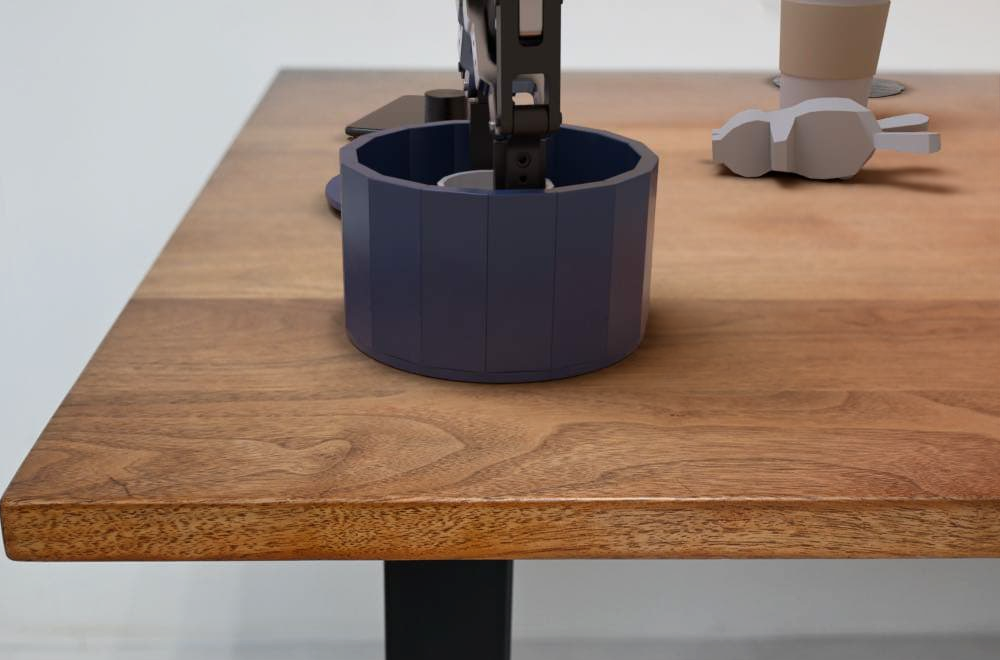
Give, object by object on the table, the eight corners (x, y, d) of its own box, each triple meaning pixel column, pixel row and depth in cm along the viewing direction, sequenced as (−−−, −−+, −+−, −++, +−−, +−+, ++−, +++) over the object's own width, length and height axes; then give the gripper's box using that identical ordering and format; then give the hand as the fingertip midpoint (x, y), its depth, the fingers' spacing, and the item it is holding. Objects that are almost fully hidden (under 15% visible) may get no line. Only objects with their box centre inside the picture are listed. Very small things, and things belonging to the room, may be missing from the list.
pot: (607, 270, 69) (615, 117, 66) (680, 376, 56) (696, 189, 52) (340, 279, 67) (335, 122, 64) (350, 390, 54) (345, 198, 51)
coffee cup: (897, 130, 102) (925, -63, 97) (795, 135, 101) (817, -62, 95) (843, 108, 110) (866, -71, 105) (748, 112, 109) (765, -71, 103)
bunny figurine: (712, 99, 93) (925, 83, 90) (714, 166, 95) (923, 153, 92) (710, 125, 85) (946, 109, 81) (713, 199, 87) (943, 186, 83)
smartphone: (402, 103, 111) (340, 138, 98) (402, 93, 111) (340, 127, 98) (483, 108, 109) (431, 144, 96) (483, 98, 109) (431, 133, 96)
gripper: (633, -181, 47) (618, 239, 53) (560, -178, 60) (554, 158, 66) (432, -178, 46) (441, 248, 52) (402, -176, 59) (412, 164, 65)
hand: (504, 197), depth 59 cm, fingers open, 8 cm apart
